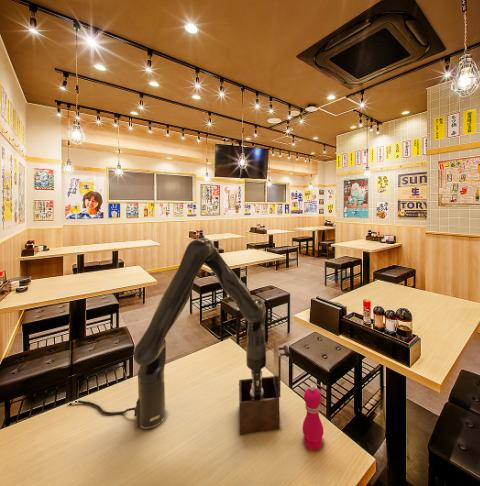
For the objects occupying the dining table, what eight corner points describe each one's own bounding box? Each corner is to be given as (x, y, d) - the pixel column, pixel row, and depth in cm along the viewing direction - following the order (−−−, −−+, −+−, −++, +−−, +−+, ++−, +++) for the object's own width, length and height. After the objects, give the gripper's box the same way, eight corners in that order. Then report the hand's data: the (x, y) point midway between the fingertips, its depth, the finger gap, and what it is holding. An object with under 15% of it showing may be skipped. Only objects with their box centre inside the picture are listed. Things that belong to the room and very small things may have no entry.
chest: (239, 434, 92) (239, 403, 92) (239, 407, 105) (239, 379, 105) (279, 429, 95) (279, 398, 94) (274, 403, 107) (274, 375, 107)
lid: (278, 356, 94) (292, 355, 94) (273, 338, 106) (285, 337, 107) (278, 397, 94) (291, 396, 95) (273, 374, 107) (285, 373, 107)
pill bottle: (250, 403, 102) (250, 379, 102) (264, 403, 102) (264, 379, 102) (249, 414, 97) (249, 389, 97) (263, 414, 97) (263, 389, 97)
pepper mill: (310, 455, 85) (309, 396, 84) (298, 437, 91) (298, 382, 90) (327, 445, 88) (327, 388, 87) (315, 429, 94) (314, 376, 94)
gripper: (245, 343, 105) (246, 383, 106) (247, 365, 91) (247, 411, 92) (264, 341, 107) (264, 381, 107) (268, 363, 92) (268, 408, 93)
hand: (256, 395), depth 99 cm, fingers closed on pill bottle, 5 cm apart
